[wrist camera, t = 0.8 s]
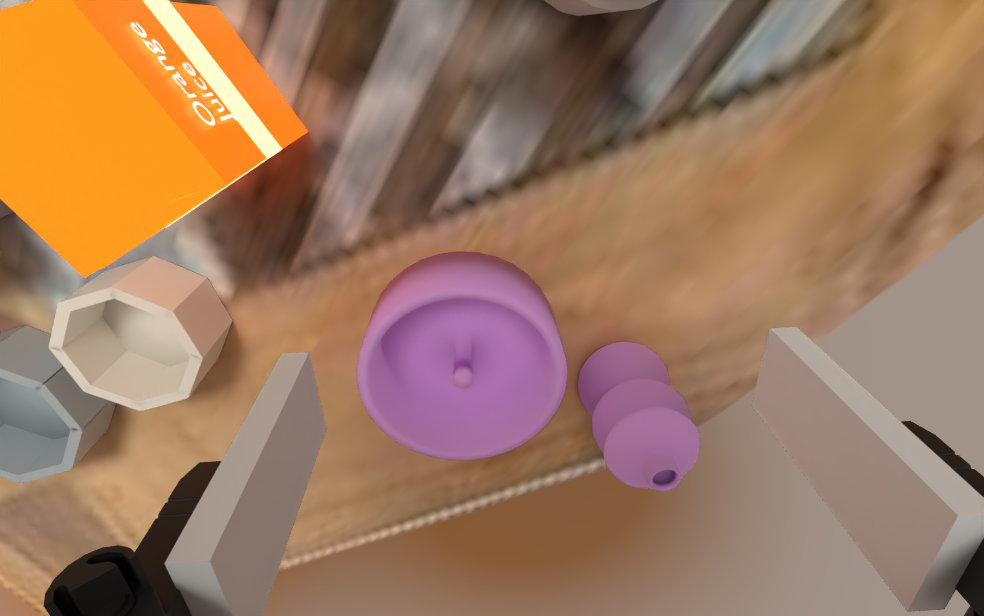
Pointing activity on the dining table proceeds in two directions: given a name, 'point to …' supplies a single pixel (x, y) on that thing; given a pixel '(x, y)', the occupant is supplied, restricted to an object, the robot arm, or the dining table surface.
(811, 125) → the dining table surface
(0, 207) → the grey rectangular block
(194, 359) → the bowl
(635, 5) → the can
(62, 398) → the grey bowl
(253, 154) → the orange juice
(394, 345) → the container set
